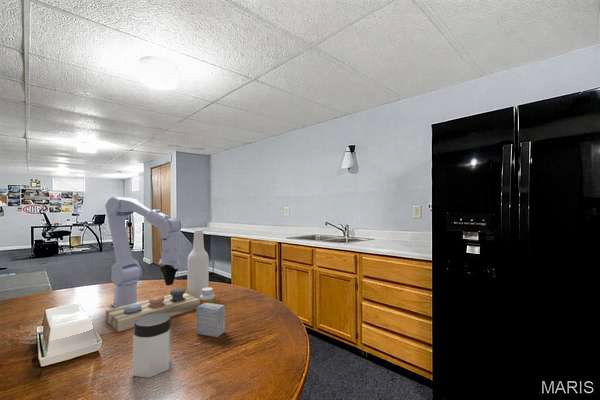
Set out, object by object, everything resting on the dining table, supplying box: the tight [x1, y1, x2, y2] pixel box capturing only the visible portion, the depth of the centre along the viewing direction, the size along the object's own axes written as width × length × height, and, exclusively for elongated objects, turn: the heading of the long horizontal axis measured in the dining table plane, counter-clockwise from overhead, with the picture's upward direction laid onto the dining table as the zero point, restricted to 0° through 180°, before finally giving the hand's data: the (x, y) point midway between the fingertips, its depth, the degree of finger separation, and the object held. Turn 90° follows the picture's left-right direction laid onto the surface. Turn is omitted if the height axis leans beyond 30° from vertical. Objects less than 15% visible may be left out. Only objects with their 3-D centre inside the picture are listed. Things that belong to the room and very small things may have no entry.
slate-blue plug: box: [124, 304, 141, 315], centre depth 97 cm, size 5×5×5 cm
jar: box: [132, 314, 172, 379], centre depth 69 cm, size 9×8×12 cm
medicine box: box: [196, 303, 226, 338], centre depth 88 cm, size 8×4×9 cm, turn 71°
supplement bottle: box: [200, 286, 216, 305], centre depth 103 cm, size 5×5×10 cm
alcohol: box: [186, 228, 210, 299], centre depth 123 cm, size 9×9×30 cm
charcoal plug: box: [169, 288, 186, 302], centre depth 110 cm, size 5×5×5 cm
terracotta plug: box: [148, 295, 165, 308], centre depth 103 cm, size 5×5×5 cm
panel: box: [105, 292, 200, 333], centre depth 104 cm, size 14×28×4 cm, turn 139°
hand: (169, 284), depth 107 cm, fingers closed
